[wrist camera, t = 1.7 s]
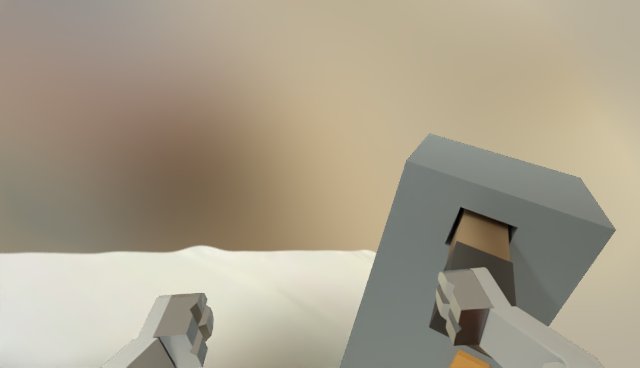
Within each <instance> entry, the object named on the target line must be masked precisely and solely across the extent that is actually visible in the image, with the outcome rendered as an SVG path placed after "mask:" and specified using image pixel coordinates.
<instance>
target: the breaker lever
mask: <svg viewBox="0 0 640 368" xmlns="http://www.w3.org/2000/svg"><path fill="white" fill-rule="evenodd" d="M482 267H485V268H486V269H488V271H489V272H490V274H491V275H492V277H493V279H494V280H495V282H496V283H497V285H498V286H499V288H500V289H501V291H502V292H503V294H504V296H505V297H506V299H507V300H508V302H509V303H510V305H511V306H512V307H514V306H516V296H515V284H514V271H513V263H512V262H510V253H509V238H508V224H507V223H504V222H501V221H498V220H496V219H493V218H490V217H487V216H485V215H482V214H479V213H476V212H473V211H471V210H468V209H465V208H462V207H460V209H459V212H458V216H457V221H456V225H455V229H454V233H453V238H452V242H451V246H450V250H449V254H448V259H447V263H446V266H445V268H444V270H443V271H449V270H459V269H471V268H482ZM439 285H440V284H439ZM446 323H447V320H446V319H444V318H443V317H442V316H441V315H440V312H439V310H438V306H437V302H436V300H435V304H434V308H433V312H432V316H431V320H430V324H429V328H431V329H433V330H435V331H437V332H439V333H441V334H443V335H445V336H447V337H449V334H448V332H447V330H446ZM449 338H450V337H449ZM479 345H480V344H478V345H465V346H467V347H469V348H471V349H473V350H475V351H477V352H480V353H482V354H484V355H486V356H488V357H490V358H492V357H491V356H490V355H489V354H488V353H487V352H485V351H484V350H483V349H482V348H481V347H480V346H479ZM492 359H493V358H492Z"/></svg>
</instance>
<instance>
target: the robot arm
mask: <svg viewBox="0 0 640 368" xmlns="http://www.w3.org/2000/svg"><path fill="white" fill-rule="evenodd" d="M438 281H439V283H440V285H439V286H438V287H437V288H436V302H437V306H438V310H439V312H440V315H441V316H442V317H443V318H444V319H446V320H447V323H446V330H447V332H448V334H449V337H450V339H451V342H452V344H453V346H461V345H478V344H480V345H479V346H480V347H481V348H482V349H483V350H484V351H485V352H487V353H488V354H489V355H490V356H491V357H492V358H493V359H494V360H495V361H496V362H497V363H498V364H499V365H501V366H502V367H503V368H604V367H603V366H602V364H601V363H600V362H599V361H598V359H597V358H596V357H594V356H593V355H591V354H590V353H588V352H587V351H585V350H584V349H582V348H580V347H579V346H577V345H576V344H574V343H573V342H571V341H569V340H568V339H566V338H565V337H563V336H562V335H560V334H559V333H557V332H555V331H554V330H552V329H551V328H549V327H548V326H546V325H545V324H543V323H541V322H540V321H538V320H537V319H535V318H534V317H532V316H530V315H529V314H527V313H526V312H524V311H523V310H521V309H520V308H518V307H516V306H514V307H512V306H511V305H510V303H509V302H508V300H507V299H506V297H505V296H504V294H503V292H502V291H501V289H500V288H499V286H498V285H497V283H496V282H495V280H494V279H493V277H492V275H491V274H490V272H489V271H488V269H486V268H485V267H482V268H471V269H459V270H449V271H440V273H439V275H438ZM206 302H207V298H206V296H205V293H194V294H178V295H165V296H159V297H158V298H157V299H156V300H155V302H154V304H153V306H152V308H151V310H150V313H149V315H148V317H147V319H146V321H145V323H144V325H143V327H142V329H141V331H140V334H139V336H138V338H137V339H135V340H132V341H130V342H129V343H128V344H127V345H126V346H125V347H124V348H122V349H121V350H120V351H119V352H118V353H117V354H116V355H114V356H113V357H112V358H111V359H110V360H109V361H108V362H106V363H105V364H104V365H103V366H102V367H101V368H202V367H203V364H204V360H205V356H206V353H207V349H208V348H207V346H206V343H205V342H206V341H207V340H208V338H209V337H210V336H211V334H212V330H213V313H212V310H211V308H210V307H208V306H207V305H206Z"/></svg>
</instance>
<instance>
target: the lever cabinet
mask: <svg viewBox="0 0 640 368" xmlns="http://www.w3.org/2000/svg"><path fill="white" fill-rule="evenodd" d="M460 207H462V208H465V209H468V210H471V211H473V212H476V213H479V214H482V215H485V216H487V217H490V218H493V219H496V220H498V221H501V222H504V223H507V224H508V238H509V253H510V262H512V263H513V271H514V284H515V296H516V307H518V308H520V309H521V310H523V311H524V312H526V313H527V314H529V315H530V316H532V317H534V318H535V319H537V320H538V321H540V322H541V323H543V324H545V325H546V326H549V325H550V323H551V322H552V320H553V319H554V318H555V316H556V315H557V313H558V312H559V310H560V309H561V308H562V306H563V305H564V303H565V302H566V301H567V299H568V298H569V296H570V295H571V293H572V292H573V290H574V289H575V288H576V286H577V285H578V283H579V282H580V281H581V279H582V278H583V276H584V275H585V273H586V272H587V271H588V269H589V268H590V266H591V265H592V263H593V262H594V261H595V259H596V258H597V256H598V255H599V253H600V252H601V251H602V249H603V248H604V246H605V245H606V243H607V242H608V241H609V239H610V238H611V236H612V235H613V234H614V232H615V231H616V229H615V228H614V227H613V225H612V223H611V222H610V221H609V219H608V218H607V216H606V215H605V213H604V212H603V210H602V209H601V208H600V206H599V205H598V203H597V202H596V200H595V199H594V197H593V196H592V194H591V193H590V191H589V190H588V188H587V187H586V186H585V184H584V183H583V181H582V180H581V178H579V177H576V176H572V175H568V174H565V173H562V172H558V171H555V170H552V169H548V168H545V167H542V166H538V165H534V164H531V163H528V162H525V161H521V160H518V159H514V158H511V157H508V156H504V155H501V154H498V153H494V152H491V151H487V150H484V149H481V148H477V147H474V146H471V145H467V144H464V143H460V142H457V141H453V140H450V139H447V138H443V137H440V136H437V135H433V134H429V135H428V136H427V137H426V138H425V139H424V140H423V142H422V143H421V144H420V145H419V146H418V147H417V149H416V150H415V151H414V152H413V153H412V155H411V156H410V157H409V158H408V159H407V160H406V163H405V167H404V170H403V173H402V176H401V179H400V182H399V185H398V189H397V192H396V195H395V198H394V201H393V204H392V207H391V210H390V213H389V216H388V220H387V223H386V226H385V229H384V232H383V235H382V238H381V241H380V245H379V248H378V251H377V254H376V257H375V260H374V263H373V266H372V269H371V273H370V276H369V279H368V282H367V285H366V288H365V291H364V294H363V298H362V301H361V304H360V307H359V310H358V313H357V316H356V319H355V323H354V326H353V329H352V332H351V335H350V338H349V341H348V344H347V347H346V351H345V354H344V357H343V360H342V363H341V366H340V368H503V367H502V366H501V365H499V364H498V363H497V362H496V361H495V360H494V359H492V358H490V357H488V356H486V355H484V354H482V353H480V352H477V351H475V350H473V349H471V348H469V347H467V346H465V345H461V346H453V344H452V342H451V339H450V338H449V337H447V336H445V335H443V334H441V333H439V332H437V331H435V330H433V329H431V328H429V324H430V320H431V316H432V312H433V308H434V304H435V300H436V288H437V287H438V286H439V284H440V283H439V281H438V275H439V273H440V271H443V270H444V268H445V266H446V263H447V259H448V254H449V250H450V246H451V242H452V238H453V233H454V229H455V225H456V221H457V216H458V212H459V209H460Z"/></svg>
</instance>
